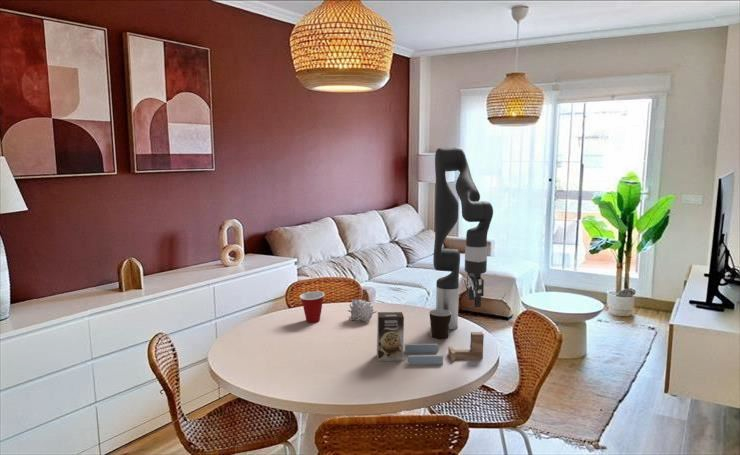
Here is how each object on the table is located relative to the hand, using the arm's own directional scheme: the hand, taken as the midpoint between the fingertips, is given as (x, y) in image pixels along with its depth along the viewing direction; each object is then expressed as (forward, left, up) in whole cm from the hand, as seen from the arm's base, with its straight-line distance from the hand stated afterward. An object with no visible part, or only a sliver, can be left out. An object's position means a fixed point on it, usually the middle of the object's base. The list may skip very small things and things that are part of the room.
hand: (474, 303), depth 182 cm
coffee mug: (-22, -7, -20) cm, 31 cm away
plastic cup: (-42, -60, -20) cm, 76 cm away
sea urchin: (-42, -39, -20) cm, 61 cm away
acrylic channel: (0, -18, -20) cm, 27 cm away
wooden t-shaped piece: (0, -2, -20) cm, 20 cm away
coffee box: (-1, -30, -20) cm, 36 cm away
